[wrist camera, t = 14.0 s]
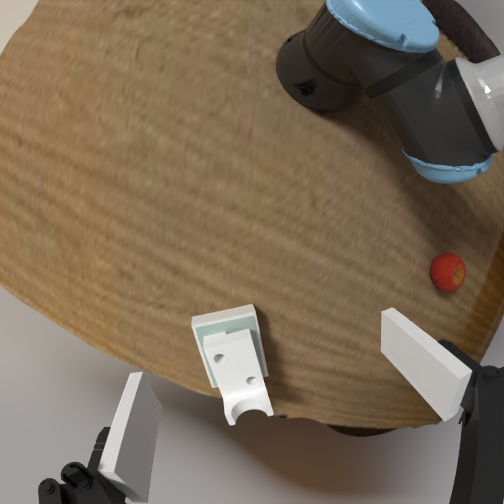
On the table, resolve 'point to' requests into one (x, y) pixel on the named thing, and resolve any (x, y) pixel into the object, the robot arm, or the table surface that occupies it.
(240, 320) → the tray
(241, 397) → the bracket
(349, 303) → the table surface
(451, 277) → the apple
